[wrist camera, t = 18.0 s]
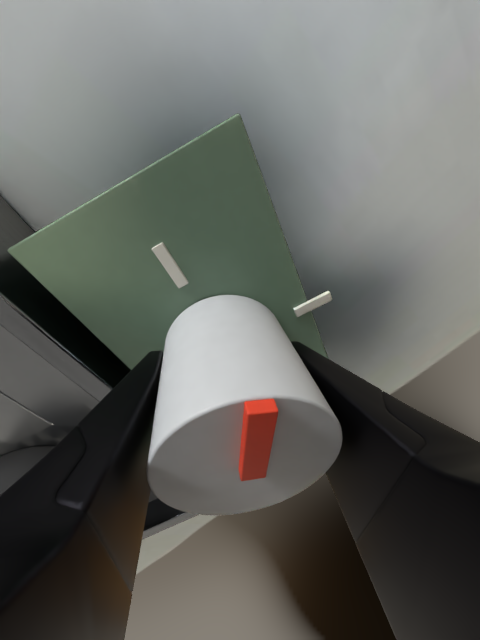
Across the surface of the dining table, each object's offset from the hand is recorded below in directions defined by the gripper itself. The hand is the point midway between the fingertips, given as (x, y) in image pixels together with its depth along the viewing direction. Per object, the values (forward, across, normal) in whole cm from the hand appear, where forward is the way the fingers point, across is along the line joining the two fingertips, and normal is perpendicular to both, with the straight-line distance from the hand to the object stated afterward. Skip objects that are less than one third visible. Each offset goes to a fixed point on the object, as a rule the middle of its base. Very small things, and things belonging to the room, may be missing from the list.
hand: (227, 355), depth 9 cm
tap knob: (0, 0, 0) cm, 0 cm away
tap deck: (+4, 0, 0) cm, 4 cm away
